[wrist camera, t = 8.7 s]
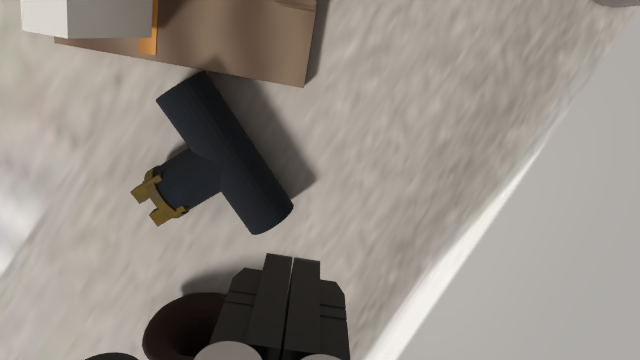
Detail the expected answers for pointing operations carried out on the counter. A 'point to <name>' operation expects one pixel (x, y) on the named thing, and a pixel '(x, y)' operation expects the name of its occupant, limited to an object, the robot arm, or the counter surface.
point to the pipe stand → (224, 38)
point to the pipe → (182, 327)
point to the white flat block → (88, 18)
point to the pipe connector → (212, 162)
